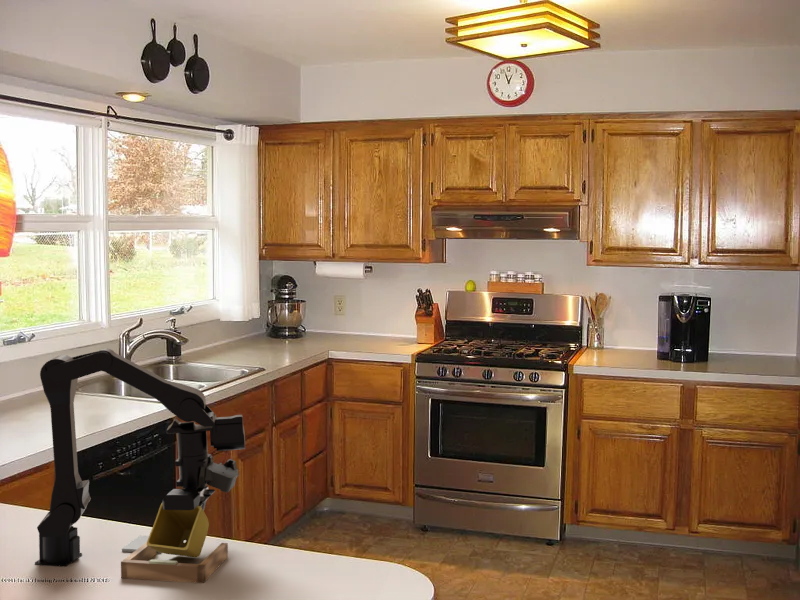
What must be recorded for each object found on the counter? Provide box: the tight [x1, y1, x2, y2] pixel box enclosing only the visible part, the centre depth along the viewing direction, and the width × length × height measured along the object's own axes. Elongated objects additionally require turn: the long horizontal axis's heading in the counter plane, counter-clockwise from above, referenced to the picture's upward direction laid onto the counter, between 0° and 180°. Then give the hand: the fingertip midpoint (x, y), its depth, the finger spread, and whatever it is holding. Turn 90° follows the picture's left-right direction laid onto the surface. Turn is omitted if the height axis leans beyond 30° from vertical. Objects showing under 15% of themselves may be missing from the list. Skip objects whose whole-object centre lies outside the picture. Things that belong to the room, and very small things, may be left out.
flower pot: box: [147, 502, 210, 559], centre depth 163 cm, size 9×9×9 cm
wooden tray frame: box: [120, 542, 229, 584], centre depth 160 cm, size 13×16×3 cm
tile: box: [121, 535, 162, 555], centre depth 172 cm, size 8×8×1 cm
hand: (197, 528), depth 169 cm, fingers closed, pressing on flower pot
